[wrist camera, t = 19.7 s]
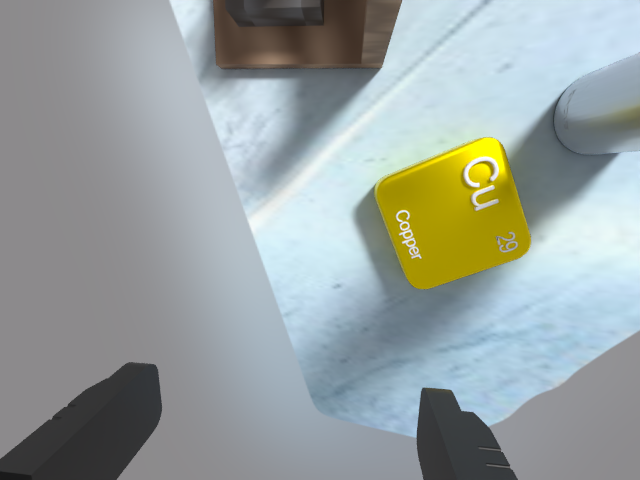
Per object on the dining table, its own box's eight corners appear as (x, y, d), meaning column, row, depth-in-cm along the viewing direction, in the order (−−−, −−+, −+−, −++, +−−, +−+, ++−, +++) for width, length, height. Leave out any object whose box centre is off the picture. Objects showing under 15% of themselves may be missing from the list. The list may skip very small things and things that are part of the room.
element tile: (368, 182, 40) (371, 183, 35) (483, 135, 37) (502, 129, 33) (407, 283, 42) (414, 296, 38) (517, 245, 40) (539, 254, 35)
